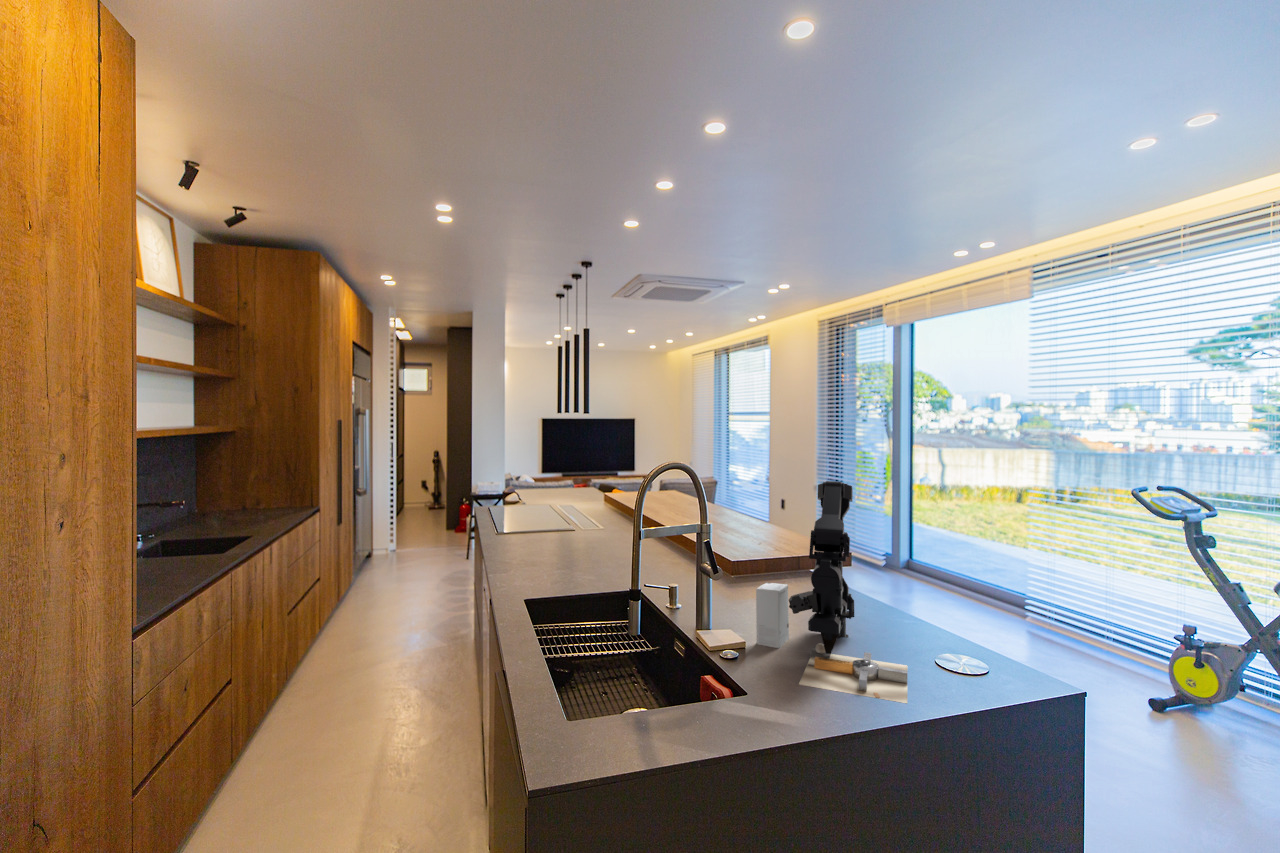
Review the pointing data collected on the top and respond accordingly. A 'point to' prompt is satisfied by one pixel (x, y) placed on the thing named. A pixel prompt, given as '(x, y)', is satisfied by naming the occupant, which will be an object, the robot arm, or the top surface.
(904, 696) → the board with rotating cross
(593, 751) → the top surface
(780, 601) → the skincare box
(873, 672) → the capstan
